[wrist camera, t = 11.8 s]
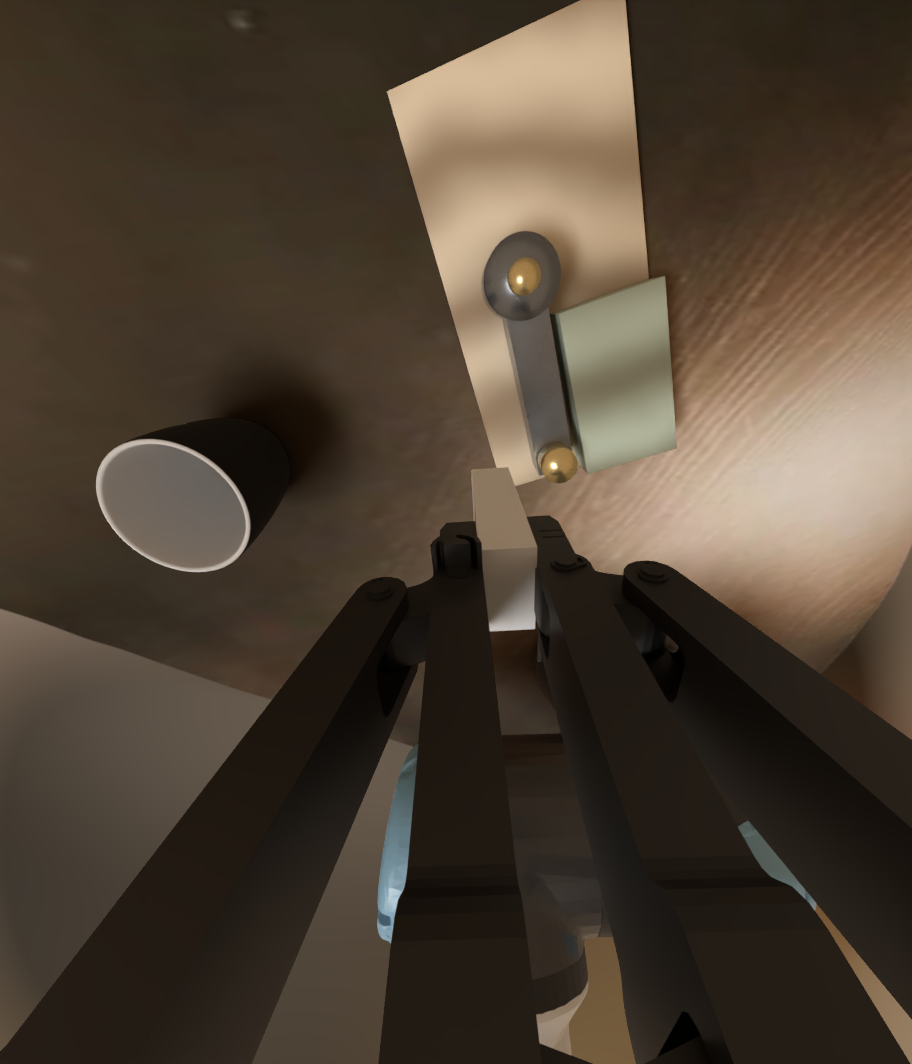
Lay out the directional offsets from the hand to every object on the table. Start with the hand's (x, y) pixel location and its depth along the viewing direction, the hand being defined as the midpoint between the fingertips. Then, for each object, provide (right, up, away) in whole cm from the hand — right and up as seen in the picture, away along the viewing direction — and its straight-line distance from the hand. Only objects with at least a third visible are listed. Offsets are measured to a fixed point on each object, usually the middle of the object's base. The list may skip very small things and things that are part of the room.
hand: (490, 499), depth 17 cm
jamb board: (+5, +15, +11) cm, 19 cm away
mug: (-20, +4, +17) cm, 26 cm away
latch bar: (+4, +11, +12) cm, 16 cm away
